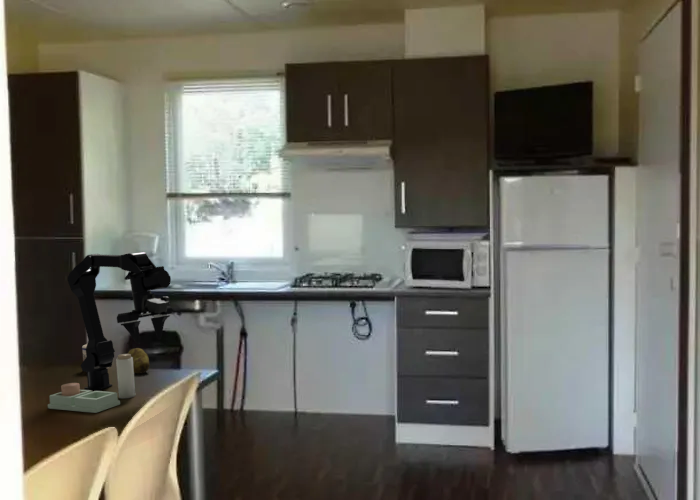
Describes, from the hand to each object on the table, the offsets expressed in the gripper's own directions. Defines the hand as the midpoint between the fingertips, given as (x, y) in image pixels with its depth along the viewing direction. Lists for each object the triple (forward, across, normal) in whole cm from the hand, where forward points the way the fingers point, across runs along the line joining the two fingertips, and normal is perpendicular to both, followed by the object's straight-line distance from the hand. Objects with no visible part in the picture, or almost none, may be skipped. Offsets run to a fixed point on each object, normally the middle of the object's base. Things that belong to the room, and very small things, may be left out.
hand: (149, 341), depth 255 cm
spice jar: (+16, -6, +7) cm, 18 cm away
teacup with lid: (+10, +21, +49) cm, 54 cm away
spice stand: (+15, -19, +11) cm, 27 cm away
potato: (+12, +24, +32) cm, 41 cm away
